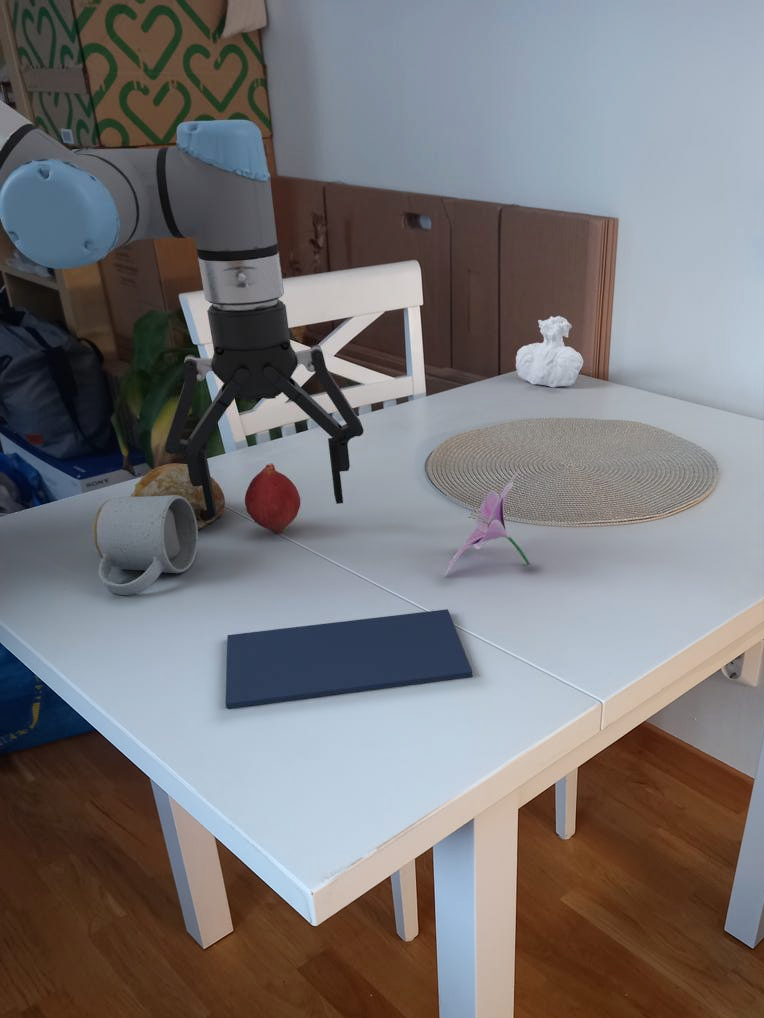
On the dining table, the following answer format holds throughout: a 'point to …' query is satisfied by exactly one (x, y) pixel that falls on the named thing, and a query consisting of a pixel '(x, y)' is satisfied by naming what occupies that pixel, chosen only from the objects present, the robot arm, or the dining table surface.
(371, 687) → the board
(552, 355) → the bust
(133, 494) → the bread roll
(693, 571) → the dining table surface
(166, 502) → the ceramic mug
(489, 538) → the lily
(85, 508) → the dining table surface
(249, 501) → the onion
